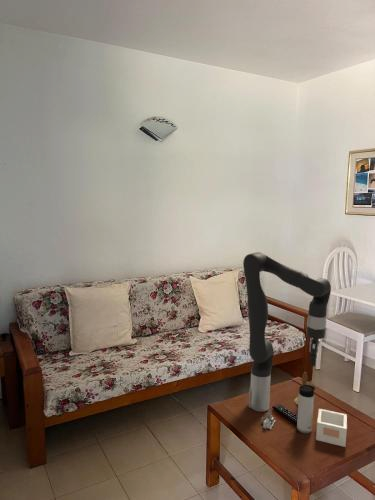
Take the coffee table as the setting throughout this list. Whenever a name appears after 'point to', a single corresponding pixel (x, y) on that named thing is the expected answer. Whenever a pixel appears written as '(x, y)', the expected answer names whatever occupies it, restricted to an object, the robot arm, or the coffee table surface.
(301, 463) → the coffee table surface
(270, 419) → the house of cards
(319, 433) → the socket
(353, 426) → the coffee table surface
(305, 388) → the travel mug
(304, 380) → the hand bell
